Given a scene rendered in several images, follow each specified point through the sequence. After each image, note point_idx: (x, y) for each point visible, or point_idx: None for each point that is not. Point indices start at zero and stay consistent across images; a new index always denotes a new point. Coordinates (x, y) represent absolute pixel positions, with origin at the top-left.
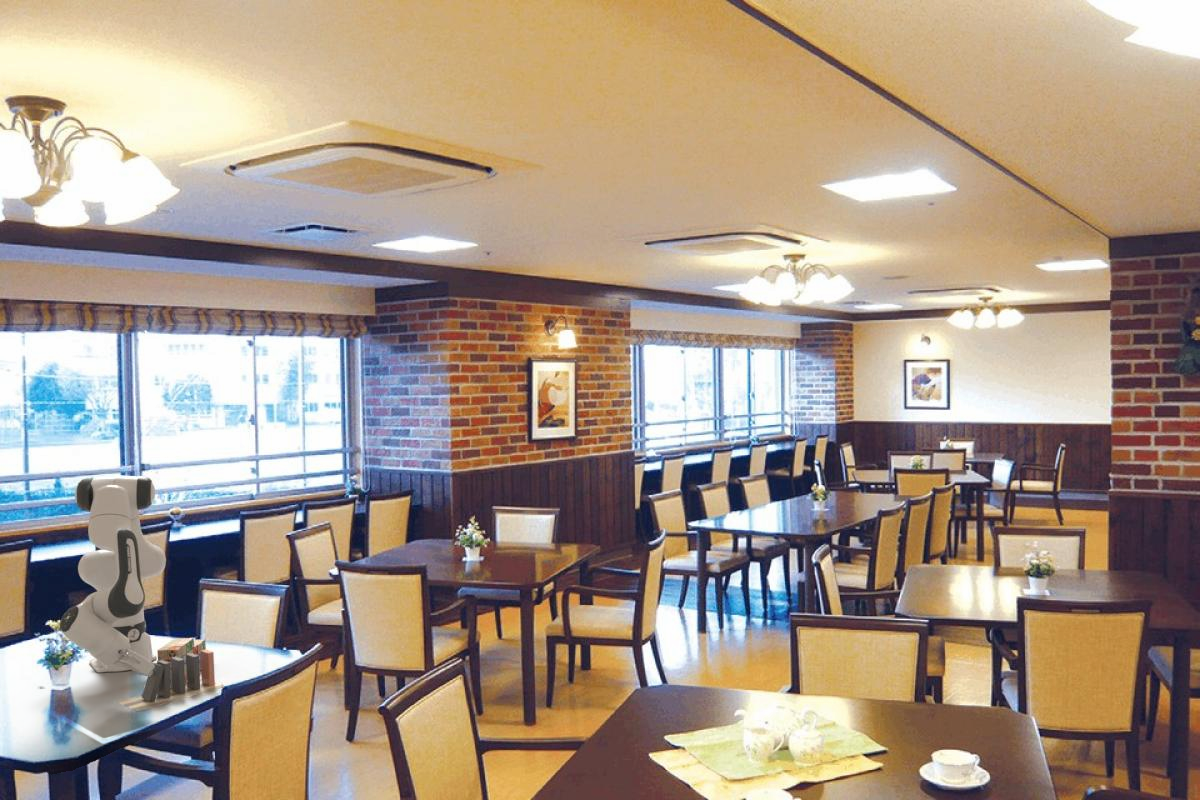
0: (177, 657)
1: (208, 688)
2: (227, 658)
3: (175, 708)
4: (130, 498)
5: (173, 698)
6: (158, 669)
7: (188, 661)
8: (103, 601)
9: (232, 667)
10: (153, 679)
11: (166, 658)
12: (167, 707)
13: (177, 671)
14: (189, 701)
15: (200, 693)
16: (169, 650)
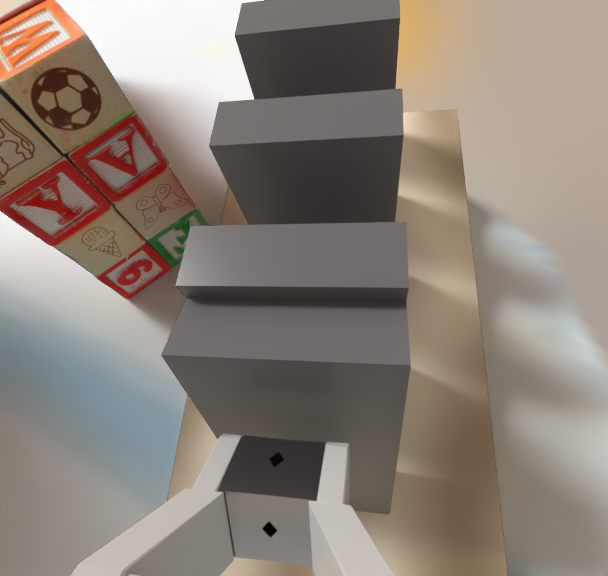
0: (265, 104)
1: (415, 165)
2: (76, 8)
3: (561, 414)
4: None
5: (430, 356)
6: (406, 390)
7: (294, 85)
8: None
9: (180, 24)
10: (355, 448)
11: (47, 155)
12: (493, 435)
13: (361, 215)
14: (482, 297)
15: (468, 220)
16: (19, 81)
